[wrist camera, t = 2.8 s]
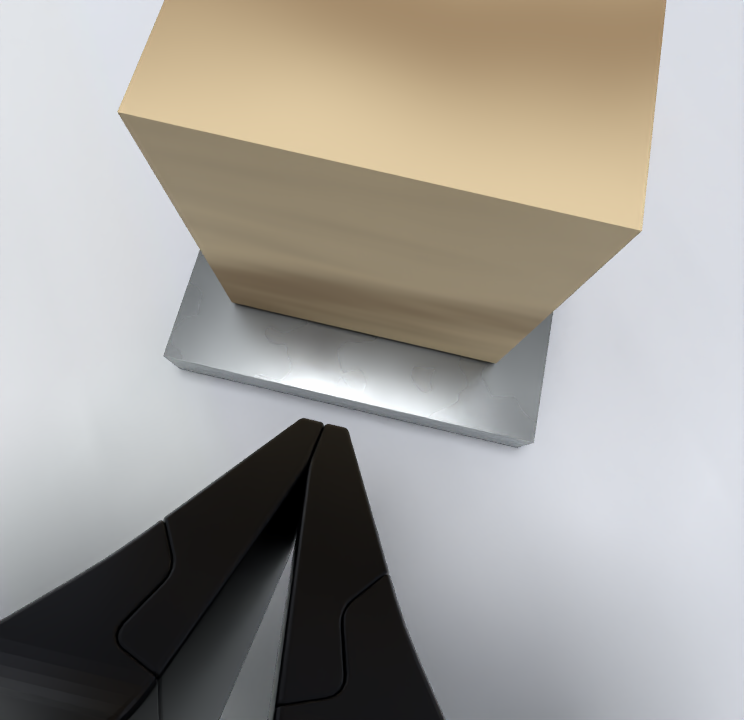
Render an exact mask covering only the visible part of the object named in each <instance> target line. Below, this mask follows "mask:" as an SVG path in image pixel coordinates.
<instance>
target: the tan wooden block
mask: <svg viewBox="0 0 744 720" xmlns="http://www.w3.org/2000/svg"><path fill="white" fill-rule="evenodd" d="M665 8H666V0H164V3H163V5H162V7H161V10H160V12H159V15H158V17H157V19H156V22H155V24H154V26H153V29H152V31H151V34H150V36H149V38H148V41H147V43H146V45H145V48H144V50H143V53H142V55H141V57H140V60H139V62H138V64H137V67H136V69H135V72H134V74H133V76H132V79H131V81H130V83H129V86H128V88H127V91H126V93H125V95H124V98H123V100H122V102H121V105H120V107H119V110H118V114H119V115H120V117H121V119H122V120H123V122H124V124H125V125H126V127H127V129H128V130H129V132H130V134H131V135H132V137H133V139H134V140H135V142H136V144H137V145H138V147H139V149H140V150H141V152H142V154H143V155H144V157H145V159H146V160H147V162H148V164H149V165H150V167H151V169H152V170H153V172H154V174H155V175H156V177H157V179H158V180H159V182H160V184H161V185H162V187H163V189H164V190H165V192H166V193H167V195H168V197H169V198H170V200H171V202H172V203H173V205H174V207H175V208H176V210H177V212H178V213H179V215H180V217H181V218H182V220H183V222H184V223H185V225H186V227H187V228H188V230H189V232H190V233H191V235H192V237H193V238H194V240H195V242H196V243H197V245H198V247H199V248H200V250H201V252H202V253H203V255H204V257H205V258H206V260H207V262H208V263H209V265H210V267H211V268H212V270H213V272H214V273H215V275H216V277H217V278H218V280H219V282H220V283H221V285H222V287H223V288H224V290H225V292H226V293H227V295H228V297H229V298H230V300H231V302H233V303H237V304H241V305H245V306H250V307H254V308H258V309H263V310H267V311H271V312H276V313H280V314H284V315H288V316H293V317H297V318H301V319H306V320H310V321H314V322H319V323H323V324H327V325H332V326H336V327H340V328H344V329H349V330H353V331H357V332H362V333H366V334H370V335H375V336H379V337H383V338H388V339H392V340H396V341H400V342H405V343H409V344H413V345H418V346H422V347H426V348H431V349H435V350H439V351H444V352H448V353H452V354H456V355H461V356H465V357H469V358H474V359H478V360H482V361H487V362H491V363H495V364H496V363H497V362H498V361H499V360H500V359H501V358H503V357H504V356H505V355H506V354H507V353H508V352H509V351H510V350H511V349H512V348H514V347H515V346H516V345H517V344H518V343H519V342H520V341H521V340H522V339H523V338H525V337H526V336H527V335H528V334H529V333H530V332H531V331H532V330H533V329H534V328H536V327H537V326H538V325H539V324H540V323H541V322H542V321H543V320H544V319H545V318H547V317H548V316H549V315H550V314H551V313H552V312H553V311H554V310H555V309H556V308H558V307H559V306H560V305H561V304H562V303H563V302H564V301H565V300H566V299H567V298H569V297H570V296H571V295H572V294H573V293H574V292H575V291H576V290H577V289H578V288H580V287H581V286H582V285H583V284H584V283H585V282H586V281H587V280H588V279H589V278H590V277H592V276H593V275H594V274H595V273H596V272H597V271H598V270H599V269H600V268H601V267H603V266H604V265H605V264H606V263H607V262H608V261H609V260H610V259H611V258H612V257H614V256H615V255H616V254H617V253H618V252H619V251H620V250H621V249H622V248H623V247H625V246H626V245H627V244H628V243H629V242H630V241H631V240H632V239H633V238H634V237H636V236H637V235H638V234H639V233H640V232H641V231H642V224H643V214H644V205H645V196H646V186H647V177H648V167H649V158H650V149H651V139H652V130H653V121H654V111H655V102H656V92H657V83H658V74H659V64H660V55H661V46H662V36H663V27H664V17H665Z"/></svg>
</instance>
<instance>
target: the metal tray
mask: <svg viewBox="0 0 744 720" xmlns="http://www.w3.org/2000/svg"><path fill="white" fill-rule="evenodd" d="M552 316H553V312H552V313H551V314H550V315H549V316H548V317H547V318H545V319H544V320H543V321H542V322H541V323H540V324H539V325H538V326H537V327H536V328H534V329H533V330H532V331H531V332H530V333H529V334H528V335H527V336H526V337H525V338H523V339H522V340H521V341H520V342H519V343H518V344H517V345H516V346H515V347H514V348H512V349H511V350H510V351H509V352H508V353H507V354H506V355H505V356H504V357H503V358H501V359H500V360H499V361H498V362H497V363H496V364H495V363H491V362H487V361H482V360H478V359H474V358H469V357H465V356H461V355H456V354H452V353H448V352H444V351H439V350H435V349H431V348H426V347H422V346H418V345H413V344H409V343H405V342H400V341H396V340H392V339H388V338H383V337H379V336H375V335H370V334H366V333H362V332H357V331H353V330H349V329H344V328H340V327H336V326H332V325H327V324H323V323H319V322H314V321H310V320H306V319H301V318H297V317H293V316H288V315H284V314H280V313H276V312H271V311H267V310H263V309H258V308H254V307H250V306H245V305H241V304H237V303H233V302H231V300H230V298H229V297H228V295H227V293H226V292H225V290H224V288H223V287H222V285H221V283H220V282H219V280H218V278H217V277H216V275H215V273H214V272H213V270H212V268H211V267H210V265H209V263H208V262H207V260H206V258H205V257H204V255H203V253H202V252H201V250H200V251H199V254H198V257H197V260H196V263H195V266H194V269H193V271H192V274H191V277H190V280H189V283H188V286H187V289H186V292H185V295H184V298H183V300H182V303H181V306H180V309H179V312H178V315H177V318H176V321H175V324H174V327H173V329H172V332H171V335H170V338H169V341H168V344H167V347H166V350H165V353H164V357H165V358H167V359H168V360H169V361H171V362H172V363H173V364H174V365H176V366H177V367H178V368H181V369H185V370H189V371H193V372H198V373H202V374H206V375H210V376H215V377H219V378H223V379H228V380H232V381H236V382H240V383H245V384H249V385H253V386H257V387H262V388H266V389H270V390H274V391H279V392H283V393H287V394H291V395H296V396H300V397H304V398H308V399H313V400H317V401H321V402H326V403H330V404H334V405H338V406H343V407H347V408H351V409H355V410H360V411H364V412H368V413H372V414H377V415H381V416H385V417H389V418H394V419H398V420H402V421H406V422H411V423H415V424H419V425H423V426H428V427H432V428H436V429H441V430H445V431H449V432H453V433H458V434H462V435H466V436H470V437H475V438H479V439H483V440H487V441H492V442H496V443H500V444H504V445H509V446H513V447H517V448H518V447H521V446H524V445H528V444H531V443H534V437H535V430H536V423H537V417H538V410H539V403H540V396H541V390H542V383H543V376H544V369H545V363H546V356H547V349H548V343H549V336H550V329H551V322H552Z"/></svg>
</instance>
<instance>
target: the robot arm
mask: <svg viewBox="0 0 744 720" xmlns="http://www.w3.org/2000/svg"><path fill="white" fill-rule="evenodd" d="M295 539H296V540H295ZM294 542H295V546H294ZM293 546H294V551H293V557H292V564H291V570H290V577H289V583H288V590H287V596H286V603H285V609H284V616H283V622H282V629H281V635H280V642H279V648H278V655H277V661H276V668H275V674H274V681H273V687H272V694H271V700H270V707H269V714H268V720H445V718H444V716H443V713H442V711H441V709H440V706H439V704H438V702H437V699H436V697H435V695H434V693H433V690H432V688H431V686H430V683H429V681H428V679H427V676H426V674H425V672H424V670H423V667H422V665H421V663H420V660H419V658H418V655H417V653H416V650H415V648H414V645H413V643H412V640H411V638H410V635H409V633H408V630H407V628H406V625H405V622H404V619H403V616H402V613H401V610H400V606H399V603H398V600H397V597H396V594H395V590H394V587H393V583H392V580H391V577H390V575H388V574H389V570H388V567H387V563H386V560H385V557H384V553H383V550H382V546H381V543H380V539H379V536H378V532H377V529H376V525H375V522H374V518H373V515H372V511H371V508H370V504H369V501H368V497H367V494H366V490H365V487H364V483H363V480H362V476H361V473H360V470H359V466H358V463H357V459H356V456H355V452H354V449H353V445H352V442H351V438H350V435H349V432H348V430H347V429H346V428H344V427H340V426H335V425H331V424H326V425H325V426H324V425H323V423H322V422H318V421H314V420H310V419H306V418H302V419H300V420H298V421H297V422H295V423H294V424H293V425H291V426H290V427H288V428H287V429H286V430H284V431H283V432H282V433H280V434H279V435H277V436H276V437H275V438H273V439H272V440H271V441H269V442H268V443H266V444H265V445H264V446H262V447H261V448H260V449H258V450H257V451H255V452H254V453H253V454H251V455H250V456H248V457H247V458H246V459H244V460H243V461H242V462H240V463H239V464H237V465H236V466H235V467H233V468H232V469H231V470H229V471H228V472H226V473H225V474H224V475H222V476H221V477H220V478H218V479H217V480H215V481H214V482H213V483H211V484H210V485H209V486H207V487H206V488H204V489H203V490H202V491H200V492H199V493H198V494H196V495H195V496H193V497H192V498H191V499H189V500H188V501H187V502H185V503H184V504H182V505H181V506H180V507H178V508H177V509H176V510H174V511H173V512H171V513H170V514H169V515H167V516H166V517H165V518H164V521H162V520H161V521H159V522H157V523H156V524H155V525H153V526H152V527H150V528H149V529H148V530H146V531H145V532H143V533H142V534H141V535H139V536H138V537H136V538H135V539H133V540H132V541H130V542H129V543H128V544H126V545H125V546H123V547H122V548H120V549H119V550H117V551H116V552H114V553H113V554H111V555H110V556H108V557H107V558H105V559H103V560H102V561H100V562H99V563H97V564H95V565H94V566H92V567H90V568H89V569H87V570H86V571H84V572H82V573H81V574H79V575H77V576H76V577H74V578H72V579H71V580H69V581H67V582H66V583H64V584H62V585H61V586H59V587H57V588H55V589H54V590H52V591H50V592H49V593H47V594H45V595H43V596H42V597H40V598H38V599H37V600H35V601H33V602H31V603H30V604H28V605H26V606H25V607H23V608H21V609H20V610H18V611H16V612H14V613H13V614H11V615H9V616H8V617H6V618H4V619H2V620H1V621H0V720H219V719H220V717H221V714H222V712H223V710H224V707H225V705H226V703H227V700H228V698H229V696H230V693H231V691H232V689H233V686H234V684H235V682H236V679H237V677H238V675H239V672H240V670H241V668H242V665H243V663H244V661H245V658H246V656H247V654H248V651H249V649H250V647H251V644H252V642H253V640H254V637H255V635H256V633H257V630H258V628H259V626H260V623H261V621H262V619H263V616H264V614H265V612H266V609H267V607H268V605H269V602H270V600H271V598H272V595H273V593H274V591H275V588H276V586H277V584H278V581H279V579H280V577H281V574H282V572H283V570H284V568H285V565H286V563H287V561H288V558H289V556H290V553H291V551H292V548H293Z"/></svg>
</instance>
